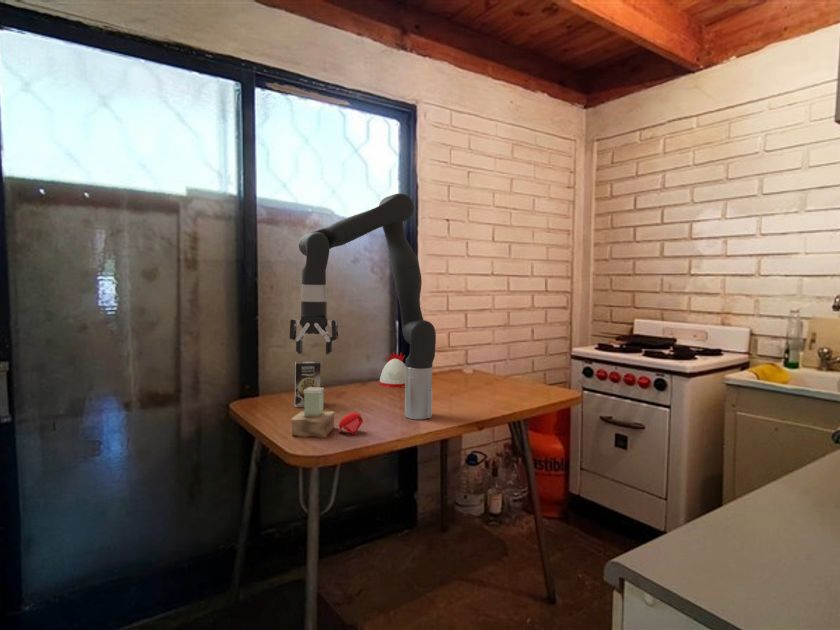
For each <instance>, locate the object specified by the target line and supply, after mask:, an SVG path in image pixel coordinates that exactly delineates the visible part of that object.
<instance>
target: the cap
mask: <svg viewBox="0 0 840 630" xmlns="http://www.w3.org/2000/svg"><path fill="white" fill-rule="evenodd" d="M363 422H364V420H363V417H362V416H361V413H359V412H352V413H349V414H347V415H345V416H344V417H343V418H342V419H341V420H340V422H339V423H338V427H339V429H338V433H340V432H341V430H342V429H344V430H346V432H348V433H351V435H353V436H355V435H357V432H358V430H359V429H360V427H361V426H362V424H363Z"/></svg>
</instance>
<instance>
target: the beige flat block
mask: <svg viewBox="0 0 840 630" xmlns="http://www.w3.org/2000/svg"><path fill="white" fill-rule="evenodd" d="M335 414H336V411H326V410H323V414H322V415H321V416H320V417H319V418H317V417H304V410H301V411H299V412H297V414H296V415H294V416H293V417H292V418H290V422H291V436H292V435H298V436H297V437H307V436H316V437H315V438H326V437H327V436H328V435H329V434H330V433H331V431H333V430H334V428H335Z"/></svg>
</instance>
